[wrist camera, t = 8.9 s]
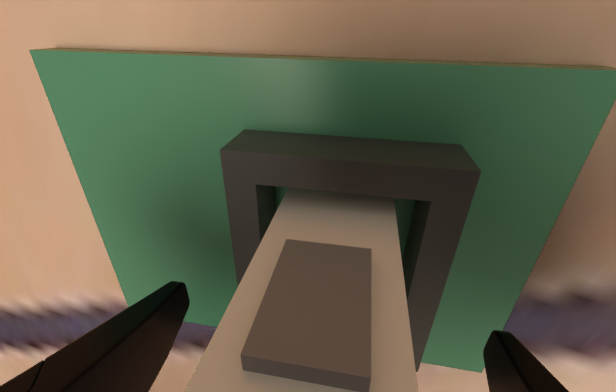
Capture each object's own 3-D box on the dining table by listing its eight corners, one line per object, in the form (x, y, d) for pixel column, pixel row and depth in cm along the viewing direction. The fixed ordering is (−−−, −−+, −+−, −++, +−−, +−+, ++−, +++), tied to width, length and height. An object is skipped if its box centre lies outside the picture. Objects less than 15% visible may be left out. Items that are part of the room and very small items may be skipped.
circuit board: (475, 352, 15) (496, 420, 13) (142, 298, 18) (103, 344, 15) (604, 66, 9) (701, 84, 6) (55, 48, 11) (-38, 54, 9)
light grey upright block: (376, 292, 13) (379, 556, 7) (295, 281, 14) (225, 515, 7) (394, 176, 10) (430, 427, 4) (292, 168, 11) (178, 377, 4)
